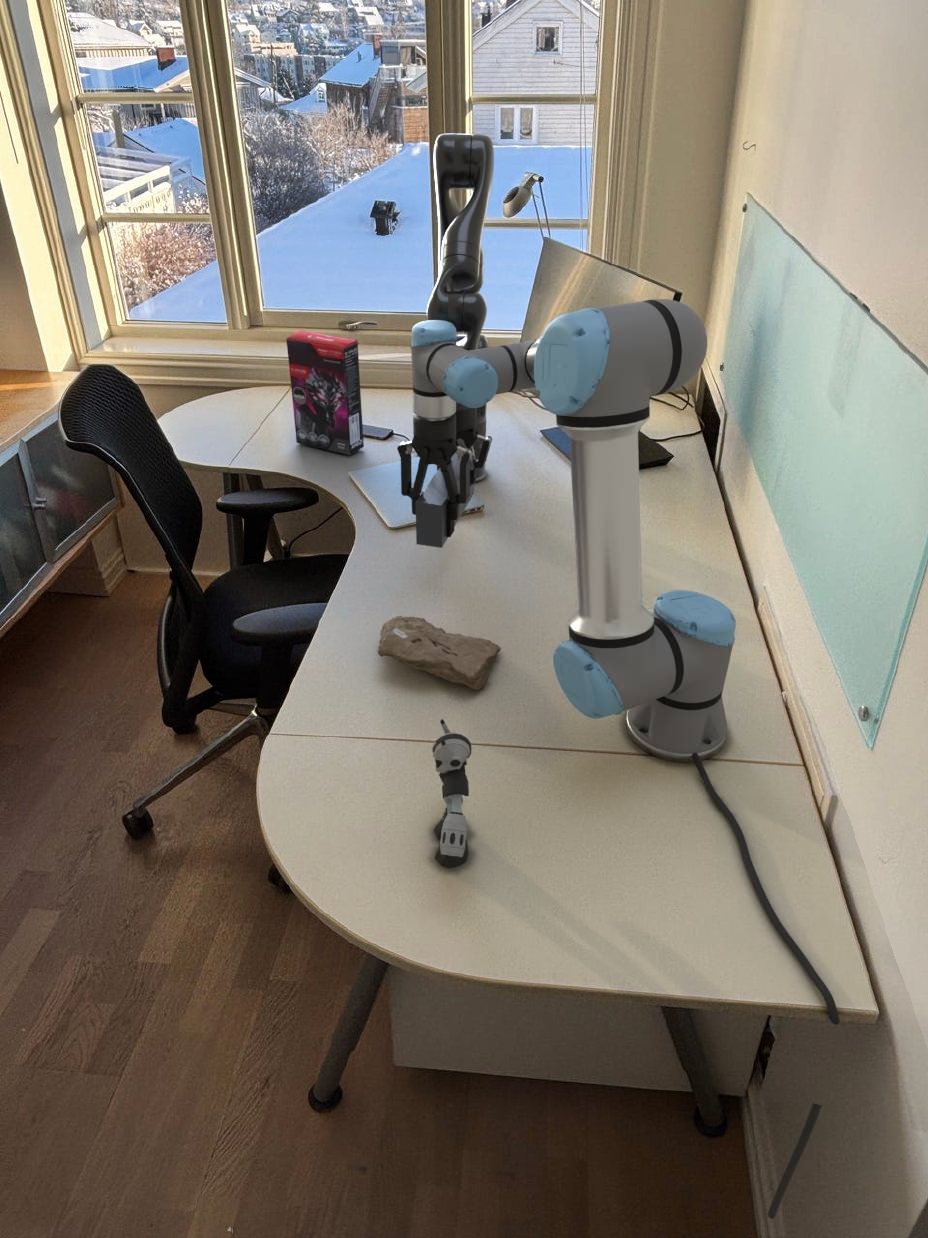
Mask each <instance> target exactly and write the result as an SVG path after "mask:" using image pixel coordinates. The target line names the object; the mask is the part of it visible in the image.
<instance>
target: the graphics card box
mask: <svg viewBox="0 0 928 1238" xmlns="http://www.w3.org/2000/svg"><path fill="white" fill-rule="evenodd" d="M285 341H286V348H287V349H286V350H287V359H288V369H289V378H290V389H291V398H292V408H293V420H294V428H295V441H296V444H300V445H304V446H309V447H314V448H317V449H321V450H326V451H330V452H334V453H340V454H343V455H348V456H351V455H353V454H354V453H356V452H358V451H359V450H361V449H363V448H364V445H365V443H364V428H363V427H364V426H363V424H364V423H363V411H362V409H363V408H362V396H361V377H360V361H359V341H358V339H350V338H343V337H339V336H333V335H330V334H329V335H328V334H324V333H318V332H313V331H312V332H311V331H306V330H298V331H295V332H293V333H292V334H290V335H289V336H288V337H286V340H285Z"/></svg>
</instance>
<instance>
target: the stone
mask: <svg viewBox="0 0 928 1238" xmlns="http://www.w3.org/2000/svg"><path fill="white" fill-rule="evenodd" d="M381 626H382V627H381V630H380V639H379V645H378V648H377V653H378V656H380V657H391V658H394V659H395V660H397V662H398V663H399V664H400V665H403V666H407V667H408V666H409V667H411V668H412V669H415V670H419V671H425V672H426V673H429V674H431V675H435V676H436V677H439V678H441V679H444V680H446V681H448V682H450V683H456V684H463V685H466V686H467V687H468V688H470V689H472V690H475V691H480V690H482V689H483V688H484V686H485V685H486V682H487V681H488V678H489V677H490V676H489V675H490V674H489V672H490V670H491V668H492V666H493V664H494V662H495V660H496V658H497V656H498V653H500V651H501V650H502V648H501V647H500V646H499V645H498V644H496V643H495V642H492V641H491V640H490V639H485V638H481V637H473V636H466V635H463V634H461V633H452V632H446V631H445V629H443V628H442V627H436V626H434V624H433V623H431V622H429V621H427V620H426V619H425V618H424V617H416V616H402V615H398V616H395V617H392V618H391V619H389V620H387V621H385V622H384V623H383V625H381Z"/></svg>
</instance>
